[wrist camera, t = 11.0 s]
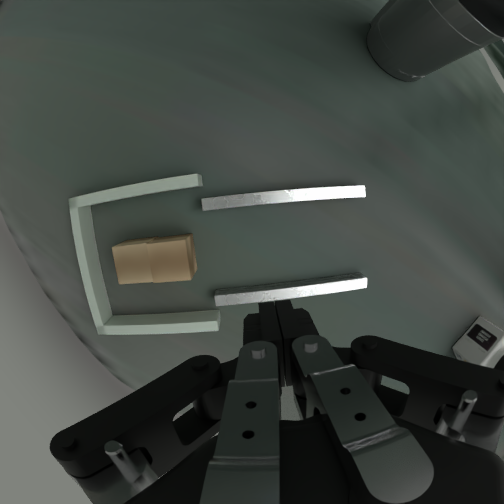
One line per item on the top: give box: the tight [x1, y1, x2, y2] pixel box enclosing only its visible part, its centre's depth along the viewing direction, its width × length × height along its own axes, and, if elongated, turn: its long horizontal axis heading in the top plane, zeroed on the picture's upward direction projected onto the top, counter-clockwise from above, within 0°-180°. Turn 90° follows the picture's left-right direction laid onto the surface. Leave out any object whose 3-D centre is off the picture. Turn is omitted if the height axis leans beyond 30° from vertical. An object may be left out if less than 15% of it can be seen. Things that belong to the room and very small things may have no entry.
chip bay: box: [68, 174, 221, 335], centre depth 29 cm, size 16×15×3 cm
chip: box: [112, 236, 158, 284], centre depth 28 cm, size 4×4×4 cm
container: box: [452, 316, 504, 371], centre depth 29 cm, size 8×8×13 cm
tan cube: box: [147, 234, 197, 283], centre depth 28 cm, size 4×4×4 cm
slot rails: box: [202, 186, 367, 306], centre depth 29 cm, size 11×17×2 cm
